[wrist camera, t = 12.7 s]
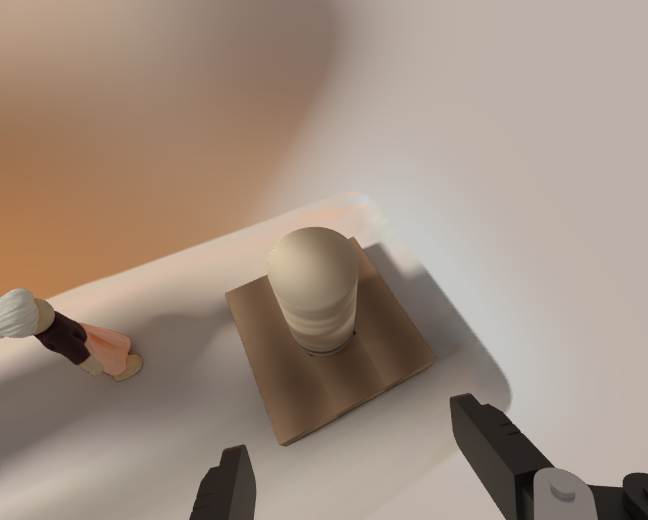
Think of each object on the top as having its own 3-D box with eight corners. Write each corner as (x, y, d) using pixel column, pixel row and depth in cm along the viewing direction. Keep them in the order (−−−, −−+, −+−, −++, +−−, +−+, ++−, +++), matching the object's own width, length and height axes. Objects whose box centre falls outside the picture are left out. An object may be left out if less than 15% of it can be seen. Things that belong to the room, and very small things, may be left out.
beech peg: (309, 376, 29) (287, 323, 18) (285, 322, 32) (253, 247, 21) (365, 347, 30) (377, 280, 19) (337, 297, 33) (332, 214, 22)
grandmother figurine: (161, 356, 31) (63, 301, 20) (132, 395, 29) (8, 357, 19) (105, 323, 33) (-10, 257, 22) (75, 357, 31) (-65, 303, 21)
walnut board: (285, 446, 26) (279, 445, 24) (233, 306, 33) (224, 293, 31) (428, 367, 29) (436, 358, 27) (353, 252, 36) (353, 236, 33)
